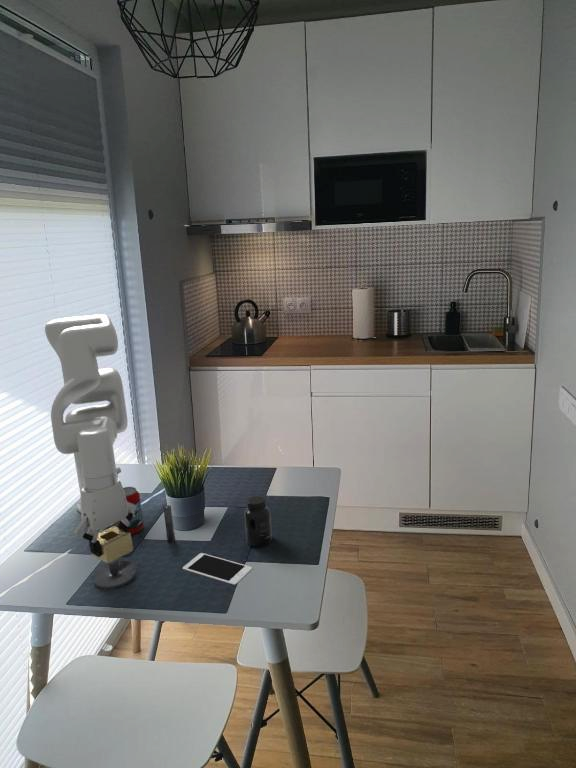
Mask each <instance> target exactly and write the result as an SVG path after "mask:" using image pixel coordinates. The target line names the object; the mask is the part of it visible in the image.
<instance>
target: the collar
mask: <svg viewBox="0 0 576 768" xmlns="http://www.w3.org/2000/svg"><path fill="white" fill-rule="evenodd" d="M97 540H98V541H99V542H100V549H101V556H100V557H98V556H96V555H94V554H92V553H91V552H90V553H91V556H93V557H95V558H96V559H98V560H100V561H102V562H104V563H105V564H107V563H110V562H112V561H114V560H116V559H117V558H118V559H119V558H121V557H123V556H125V555H127V554H129V553H131V552H132V551H134V546H133V540H132V534H130V533H129V532H126V531H124V530H122V529H120V528H118V526H115V525H113V526H110V527H109V528H105V529H104V530H102V531H101V532H100V531H99V534H98V538H97Z"/></svg>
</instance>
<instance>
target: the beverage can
mask: <svg viewBox="0 0 576 768" xmlns="http://www.w3.org/2000/svg"><path fill="white" fill-rule="evenodd" d="M123 489H124V492H125V496H126V500H127V502H130V503H132V504H134V505H136V506H137V507H136V510H135V512H134V513H133V517H132V519H131V521H130V526H128V528H129V533H130V534H131V535H133V534H136V533H139V532H140V531H142V529H143V528H144V519H143V518H144V517H143V511H142V510H143V509H142V504H141V496H140V493H139V491H138V490H137V488H136V487H134V486H125V487H123ZM117 524H118V525H119V524H120V523H119V522H117ZM118 525H117V526H118Z"/></svg>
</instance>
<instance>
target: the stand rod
mask: <svg viewBox="0 0 576 768" xmlns="http://www.w3.org/2000/svg"><path fill="white" fill-rule="evenodd" d="M162 508H163V517H164V525H165V533H166V540H167V541H166V542H167V543H174V542H175V540H176V537H175V530H174V529H175V527H174V520H173V514H172V506H171V505H169V504H167V505H163V507H162Z"/></svg>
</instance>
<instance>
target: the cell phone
mask: <svg viewBox="0 0 576 768" xmlns="http://www.w3.org/2000/svg"><path fill="white" fill-rule="evenodd" d="M182 570H183V571H187V572H190V573H193V574H197V575H200V576H203V577H207V578H209V579H210V578H211V579H212V580H213V579H214V580H217V581H219V582H223V583H226V584H230V585H233V586H235V585H237V584H238V583H239V582H240V581H241V580H242V579H243V578H245V577H246V576H247V575H248V574H249V573H250V572H251V571H252V570H253V567H252V566H249V565H247V564H242V563H239V562H235V561H233V560H228V559H225V558H221V557H217V556H214V555H211V554H207V553H205V552H204V553H203V552H200V553H198V554H197V555H196V556H195V557H193V558H192V559H191V560H190V561H189V562H188V563H186V564H185V565H183V567H182Z"/></svg>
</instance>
